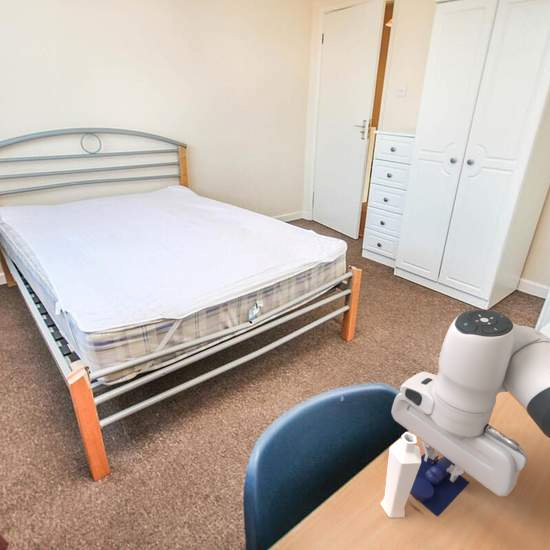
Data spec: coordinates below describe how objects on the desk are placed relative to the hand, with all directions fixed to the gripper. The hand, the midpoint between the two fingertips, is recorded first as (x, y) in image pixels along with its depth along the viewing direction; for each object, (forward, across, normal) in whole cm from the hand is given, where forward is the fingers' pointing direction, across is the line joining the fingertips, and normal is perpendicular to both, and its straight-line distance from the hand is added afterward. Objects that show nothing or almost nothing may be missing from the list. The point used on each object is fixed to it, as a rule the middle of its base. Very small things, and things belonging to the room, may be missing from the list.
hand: (440, 469), depth 65 cm
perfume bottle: (+2, +1, +10) cm, 11 cm away
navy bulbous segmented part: (+1, 0, +2) cm, 2 cm away
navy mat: (+2, 0, +2) cm, 3 cm away
